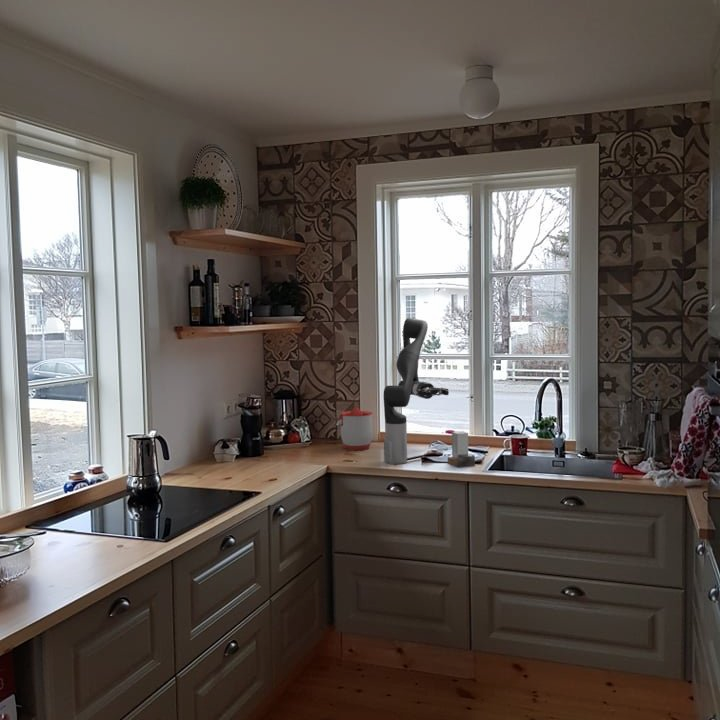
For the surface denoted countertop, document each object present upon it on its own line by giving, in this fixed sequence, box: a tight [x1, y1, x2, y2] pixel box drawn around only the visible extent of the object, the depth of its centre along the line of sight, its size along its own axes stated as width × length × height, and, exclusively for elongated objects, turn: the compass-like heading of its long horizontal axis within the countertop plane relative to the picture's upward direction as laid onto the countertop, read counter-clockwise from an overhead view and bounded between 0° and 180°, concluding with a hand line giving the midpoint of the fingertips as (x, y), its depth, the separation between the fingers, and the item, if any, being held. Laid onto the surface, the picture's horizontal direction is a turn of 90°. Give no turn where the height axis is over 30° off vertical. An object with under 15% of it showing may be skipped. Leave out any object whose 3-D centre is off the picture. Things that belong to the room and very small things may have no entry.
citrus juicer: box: [336, 406, 373, 451], centre depth 342 cm, size 16×17×20 cm
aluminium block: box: [451, 430, 469, 459], centre depth 304 cm, size 5×5×11 cm
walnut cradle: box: [447, 455, 476, 468], centre depth 304 cm, size 8×9×4 cm
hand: (439, 393), depth 321 cm, fingers open, 8 cm apart
